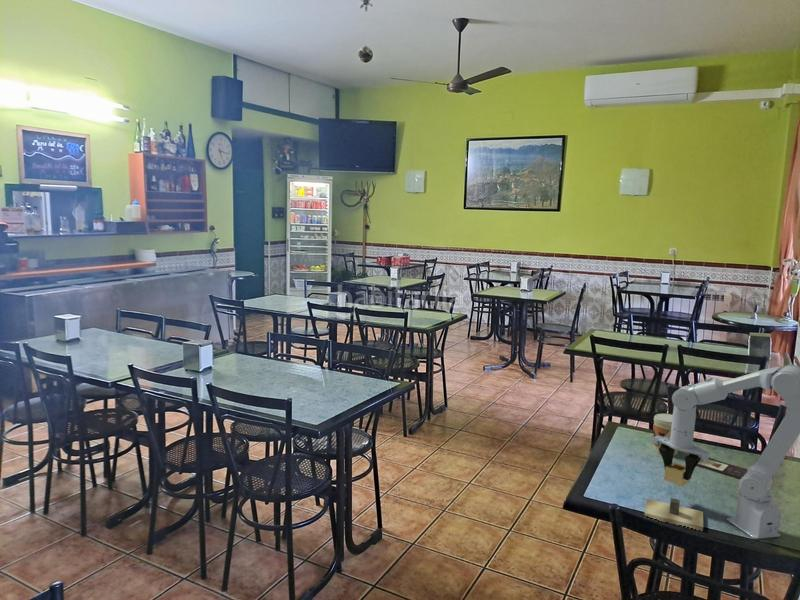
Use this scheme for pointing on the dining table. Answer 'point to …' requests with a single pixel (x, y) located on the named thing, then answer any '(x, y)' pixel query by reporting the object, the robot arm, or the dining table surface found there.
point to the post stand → (674, 514)
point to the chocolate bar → (722, 468)
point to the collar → (676, 474)
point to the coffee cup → (662, 429)
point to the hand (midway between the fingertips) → (677, 475)
